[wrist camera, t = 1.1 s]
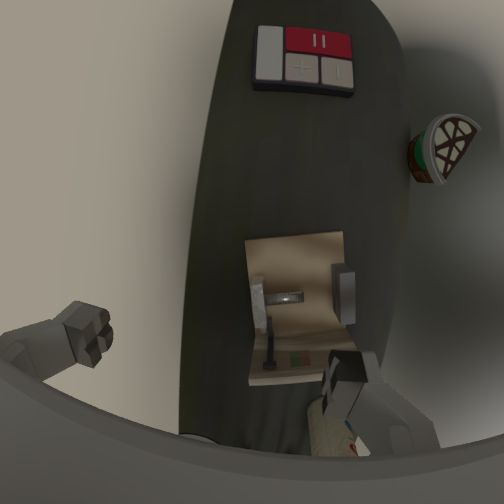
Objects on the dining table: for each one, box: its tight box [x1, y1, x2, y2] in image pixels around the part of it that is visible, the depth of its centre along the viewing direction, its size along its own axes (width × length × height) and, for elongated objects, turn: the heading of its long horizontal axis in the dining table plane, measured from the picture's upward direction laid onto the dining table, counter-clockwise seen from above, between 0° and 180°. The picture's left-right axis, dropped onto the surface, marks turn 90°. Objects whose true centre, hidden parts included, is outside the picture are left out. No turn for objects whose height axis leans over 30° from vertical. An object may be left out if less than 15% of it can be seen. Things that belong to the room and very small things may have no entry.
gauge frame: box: [245, 231, 358, 386], centre depth 38 cm, size 16×14×14 cm
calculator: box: [252, 25, 355, 98], centre depth 37 cm, size 11×4×15 cm
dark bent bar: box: [263, 317, 276, 369], centre depth 38 cm, size 3×2×10 cm, turn 6°
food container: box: [407, 114, 482, 187], centre depth 34 cm, size 12×6×10 cm, turn 139°
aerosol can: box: [307, 395, 358, 457], centre depth 38 cm, size 7×7×20 cm
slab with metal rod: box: [250, 275, 304, 334], centre depth 40 cm, size 8×7×5 cm
